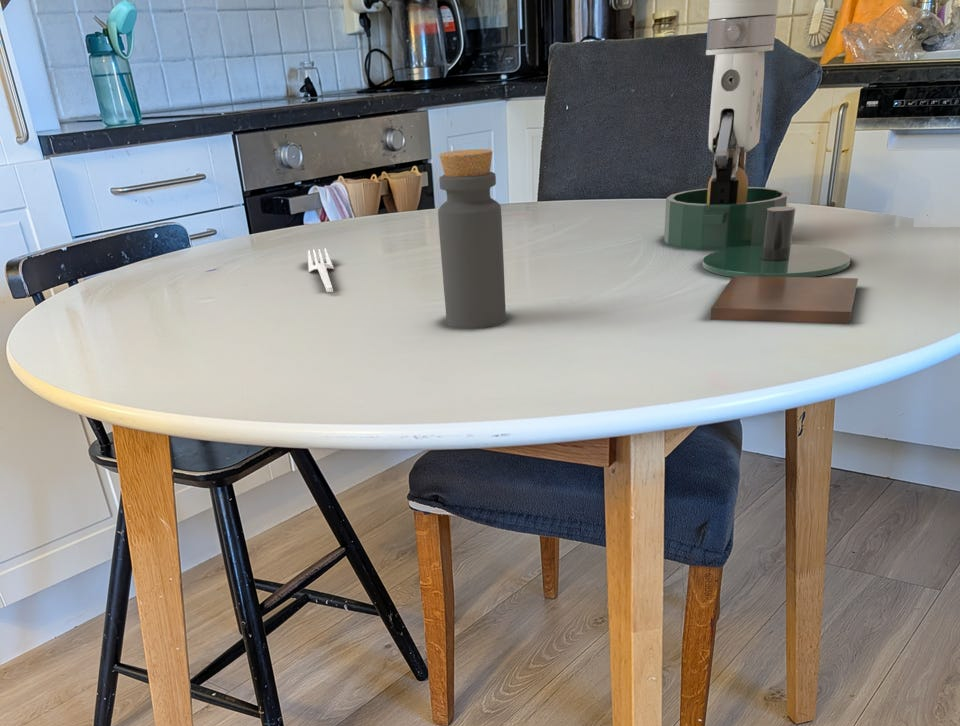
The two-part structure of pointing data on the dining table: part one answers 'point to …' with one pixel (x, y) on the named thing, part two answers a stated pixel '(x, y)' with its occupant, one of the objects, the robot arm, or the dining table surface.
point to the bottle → (471, 241)
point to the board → (786, 299)
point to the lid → (777, 253)
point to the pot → (719, 219)
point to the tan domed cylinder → (741, 187)
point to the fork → (321, 268)
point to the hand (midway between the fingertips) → (725, 211)
